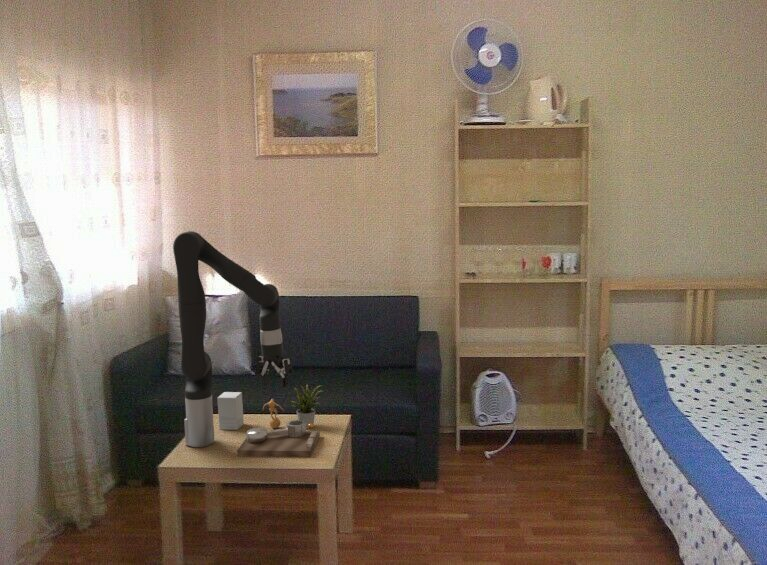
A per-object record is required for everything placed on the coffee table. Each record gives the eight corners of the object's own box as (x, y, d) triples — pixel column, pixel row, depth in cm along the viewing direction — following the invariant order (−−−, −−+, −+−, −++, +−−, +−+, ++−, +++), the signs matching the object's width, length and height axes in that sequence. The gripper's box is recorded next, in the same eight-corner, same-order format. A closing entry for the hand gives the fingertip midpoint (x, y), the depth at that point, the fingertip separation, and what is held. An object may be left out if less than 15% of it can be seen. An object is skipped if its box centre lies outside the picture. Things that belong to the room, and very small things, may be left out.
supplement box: (244, 423, 273) (242, 391, 271) (237, 430, 266) (235, 397, 264) (226, 423, 274) (224, 391, 272) (218, 429, 267) (216, 397, 265)
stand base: (237, 455, 241) (236, 446, 240) (252, 435, 259) (251, 427, 259) (310, 456, 239) (309, 447, 238) (319, 436, 257) (319, 427, 257)
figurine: (287, 426, 268) (286, 396, 267) (282, 432, 263) (281, 400, 261) (266, 425, 270) (265, 395, 268) (261, 431, 264) (259, 400, 262)
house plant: (334, 421, 273) (332, 380, 271) (321, 434, 260) (320, 391, 257) (299, 419, 277) (298, 378, 274) (285, 431, 264) (283, 388, 261)
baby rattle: (248, 444, 245) (248, 433, 244) (245, 437, 251) (245, 426, 251) (315, 434, 253) (315, 423, 252) (310, 428, 260) (310, 417, 259)
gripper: (249, 342, 249) (253, 387, 251) (280, 345, 241) (284, 391, 244) (263, 337, 255) (267, 381, 258) (294, 340, 248) (298, 385, 250)
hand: (276, 386), depth 251 cm, fingers open, 8 cm apart
